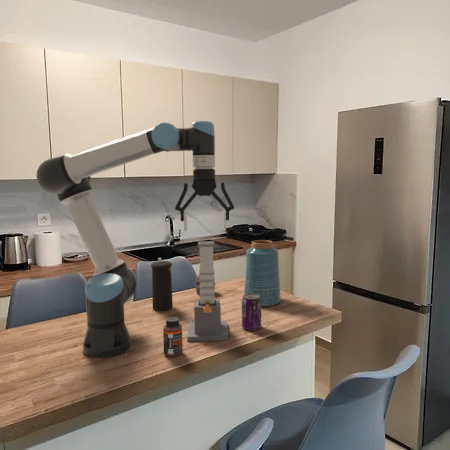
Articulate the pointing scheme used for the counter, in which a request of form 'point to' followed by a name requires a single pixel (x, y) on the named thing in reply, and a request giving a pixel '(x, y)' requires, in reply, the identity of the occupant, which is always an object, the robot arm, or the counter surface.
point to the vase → (263, 272)
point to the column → (206, 273)
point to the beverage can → (251, 311)
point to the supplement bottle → (172, 337)
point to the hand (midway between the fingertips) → (205, 230)
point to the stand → (207, 323)
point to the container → (161, 285)
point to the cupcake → (198, 285)
